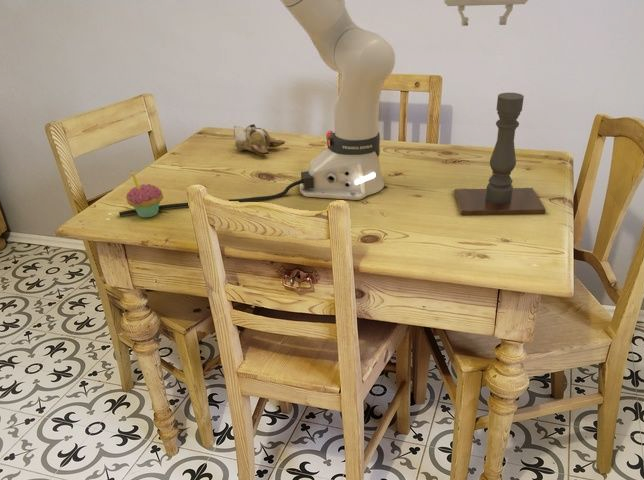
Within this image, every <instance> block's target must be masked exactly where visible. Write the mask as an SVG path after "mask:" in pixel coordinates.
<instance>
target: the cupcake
mask: <svg viewBox="0 0 644 480" xmlns="http://www.w3.org/2000/svg"><path fill="white" fill-rule="evenodd" d="M130 172H131V173H130V175H131V177H132V179H133V183H134V185H135V186H134V187H132V188H131V189H130V190H129V191H128V192H127V193H126V202H127V204H128V205H129V206H131V207H133V209H135V210H136V211H137V213H136V214H137V215H138V216H139V217H140V218H151V217H154V216H157V215H158V214H159V210H160V209H159V206H160V203H161V202H162V200H163V199H164V195H163V192H162V190H161V189H160V188H159V187H157V186H155V185H154V184H150V183H147V184H141V185H139V182H138V179H137V177H136V174H135V172H133V170H132V169H131V170H130Z"/></svg>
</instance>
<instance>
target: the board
mask: <svg viewBox="0 0 644 480" xmlns="http://www.w3.org/2000/svg"><path fill="white" fill-rule="evenodd" d="M486 191H487V188H455V189H454V190H453V194H454V197H455V201H456V203H457V207H458V209H459V212H460V215H461V216H488V215H489V216H491V215H493V216H494V215H495V216H496V215H500V216H501V215H545V214H546V208H545V206H544V204H543V203H542V201H541V200H540V198H539V196H538V195H537V193H536V190H535V189H534V188H533V187H513V190H512V198H511V201H510V202H508V203H505V204H495V203H491V202H489V201H487V200H486Z"/></svg>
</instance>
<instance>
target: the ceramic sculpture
mask: <svg viewBox="0 0 644 480" xmlns="http://www.w3.org/2000/svg"><path fill="white" fill-rule="evenodd" d="M233 137H234V141H235V142H234V143H235V147H236V149H237V150H238V151H242V152H243V151H244V150H247V151H250V152H253V153H255V154H256V155H258V156H265V155H270V152H269V150H268V149H269V148H278V147H280V146H283V145H285V143H286V142H285V141H279V140H277V139H276V138H275V137H272V136H270V134H269V133H268V132H267V130H265V128H262V127H257V126H256V125H255V124H250V125H248V126H246V128H244V127H243V126H237V125H233Z"/></svg>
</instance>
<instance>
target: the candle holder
mask: <svg viewBox="0 0 644 480" xmlns="http://www.w3.org/2000/svg"><path fill="white" fill-rule="evenodd" d="M524 97H525V95H524V94H521V93H517V92H502V93H498V95H497V100H496V111H497V112H496V114H497V115H498V118H499V119H498V120H497V121H495V125H496V127H497V137H496V142H495V144H494V148H493V151H492V154H491V156H490V159H489V166H490V169H491V172H492V175H490V177H489V179H488V183H487V185H486V189H487V191H486V200H487V201H489V202H491V203H495V204H505V203H508V202H510V201H511V198H512V190H513V188H514V186H513V185H512V184H513V179H512V177H511V174H512V172H513V171H514V169H515V167H516V165H517V157H516V150H515V147H516V146H515V136H516V130H517V128H518V127H519V125H520V123H519V121H518V118H519V117H520V115H521V112H523V106H524Z"/></svg>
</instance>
